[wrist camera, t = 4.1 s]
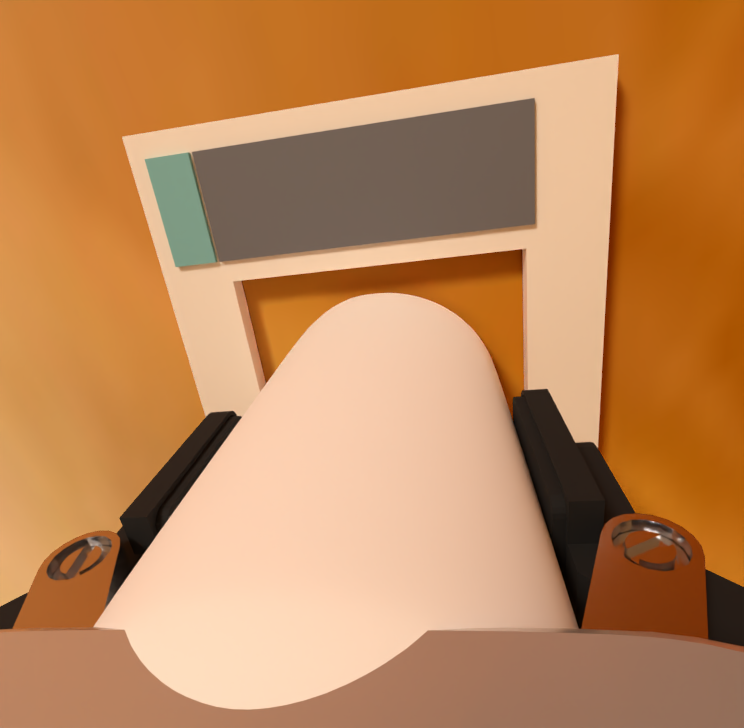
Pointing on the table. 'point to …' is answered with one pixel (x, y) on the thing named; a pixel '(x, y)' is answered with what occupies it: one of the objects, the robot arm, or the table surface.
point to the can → (347, 518)
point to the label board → (395, 212)
